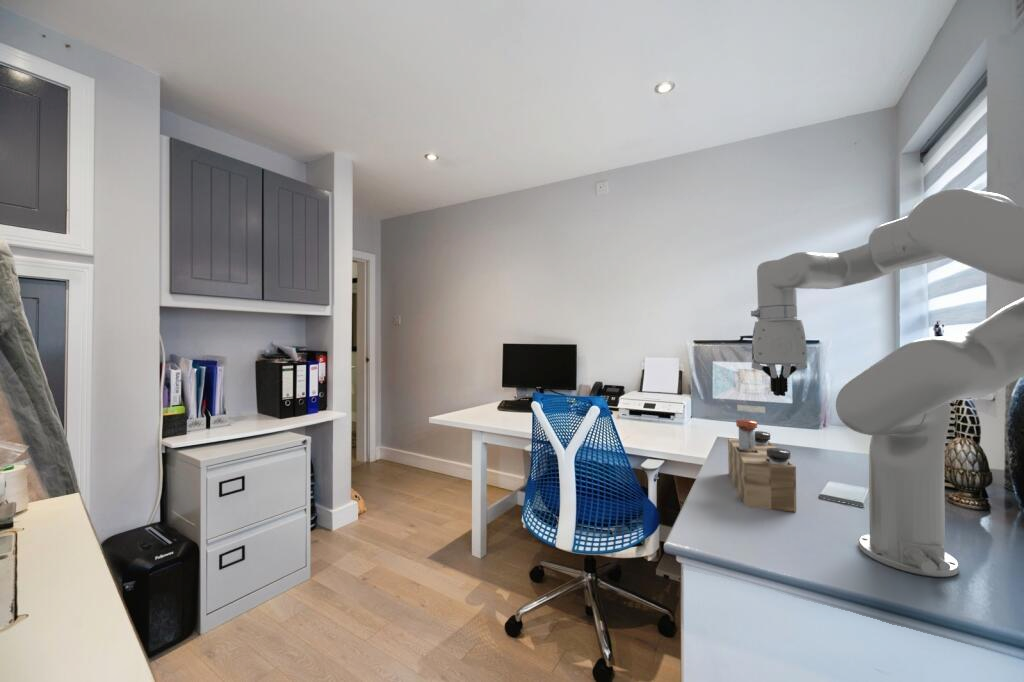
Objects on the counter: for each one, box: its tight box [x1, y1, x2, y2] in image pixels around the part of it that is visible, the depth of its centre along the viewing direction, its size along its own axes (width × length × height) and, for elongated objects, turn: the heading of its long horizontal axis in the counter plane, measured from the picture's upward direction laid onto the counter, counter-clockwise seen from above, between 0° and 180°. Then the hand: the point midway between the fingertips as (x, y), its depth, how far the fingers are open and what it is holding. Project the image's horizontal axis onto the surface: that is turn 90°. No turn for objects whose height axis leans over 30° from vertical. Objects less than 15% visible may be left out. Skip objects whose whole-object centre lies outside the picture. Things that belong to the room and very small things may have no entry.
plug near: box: [767, 447, 791, 465], centre depth 95 cm, size 5×5×12 cm
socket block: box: [727, 438, 797, 513], centre depth 104 cm, size 24×10×10 cm, turn 160°
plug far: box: [755, 430, 771, 445], centre depth 112 cm, size 5×5×12 cm
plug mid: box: [735, 418, 758, 453], centre depth 105 cm, size 5×5×12 cm
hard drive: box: [818, 480, 869, 508], centre depth 100 cm, size 2×8×12 cm
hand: (779, 395), depth 94 cm, fingers closed
